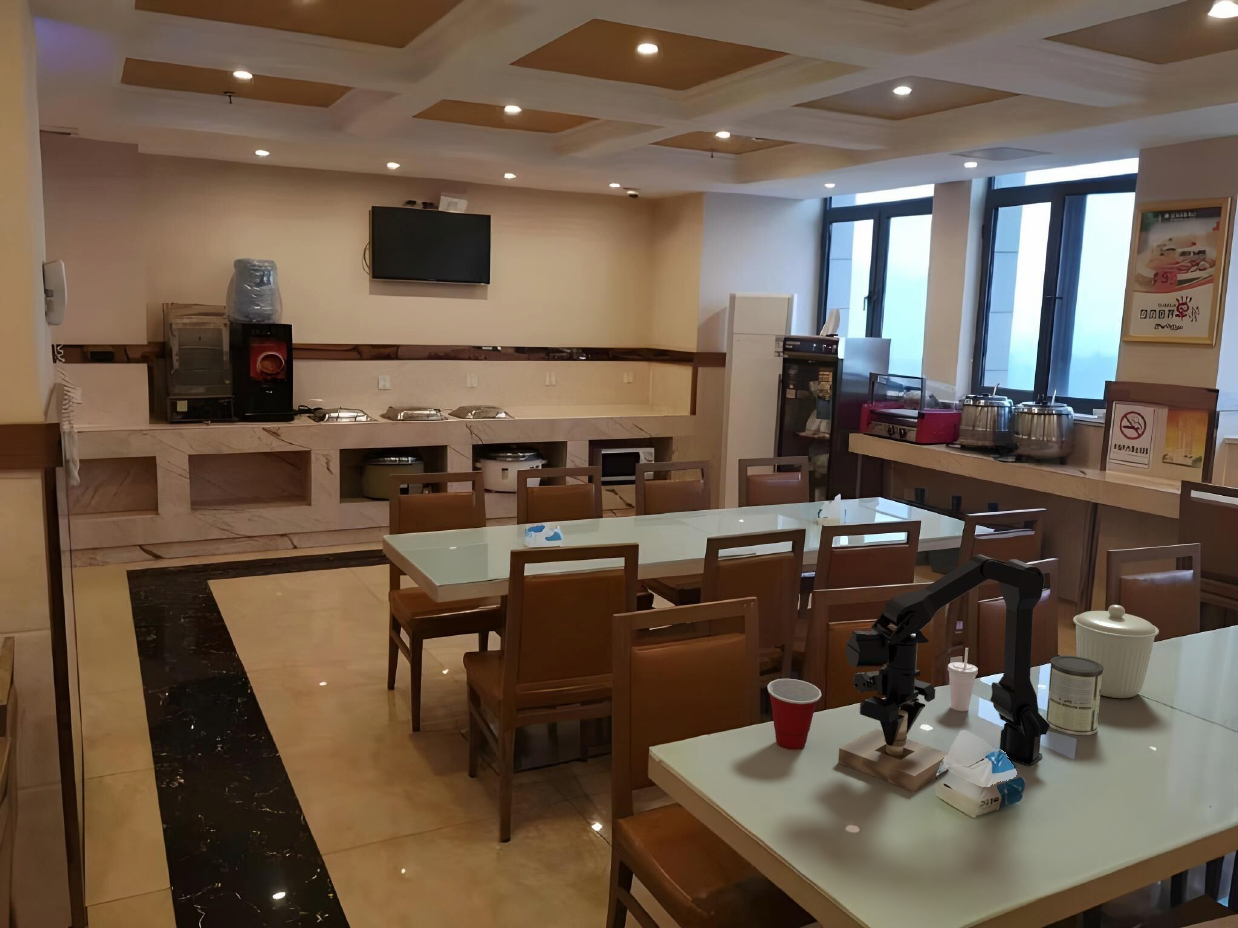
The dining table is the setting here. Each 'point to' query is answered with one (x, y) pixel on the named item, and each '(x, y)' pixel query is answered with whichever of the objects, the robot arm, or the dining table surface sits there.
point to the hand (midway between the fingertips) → (895, 741)
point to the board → (892, 760)
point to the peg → (899, 737)
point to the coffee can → (1074, 695)
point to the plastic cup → (792, 711)
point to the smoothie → (961, 683)
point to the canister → (1116, 648)
